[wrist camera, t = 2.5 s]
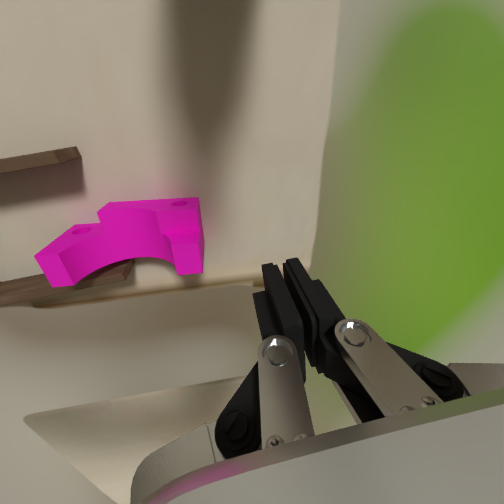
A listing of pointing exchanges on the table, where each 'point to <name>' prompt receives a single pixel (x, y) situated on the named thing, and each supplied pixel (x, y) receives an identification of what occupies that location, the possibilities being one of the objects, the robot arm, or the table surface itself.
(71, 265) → the magenta curved block
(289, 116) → the table surface
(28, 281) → the walnut bay
